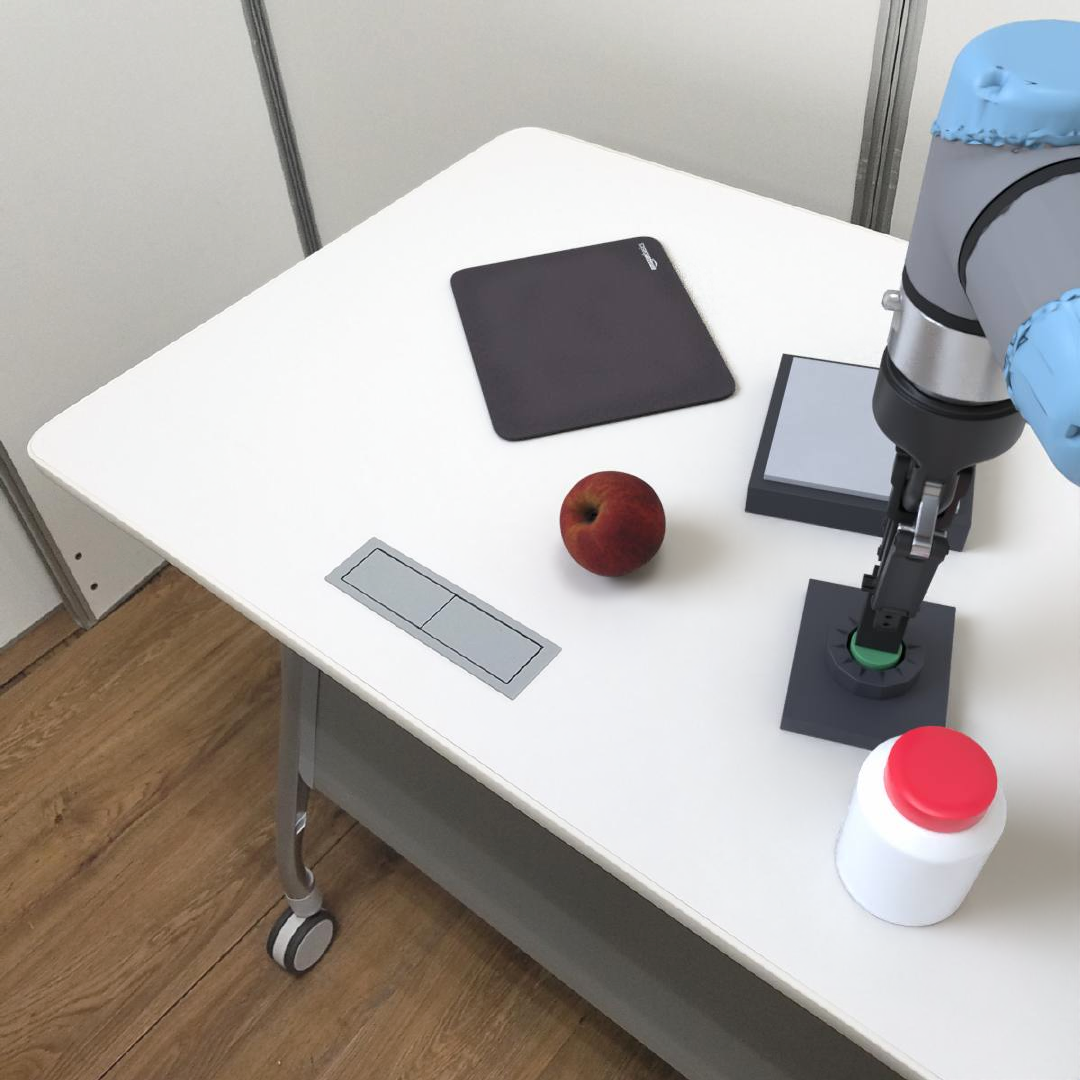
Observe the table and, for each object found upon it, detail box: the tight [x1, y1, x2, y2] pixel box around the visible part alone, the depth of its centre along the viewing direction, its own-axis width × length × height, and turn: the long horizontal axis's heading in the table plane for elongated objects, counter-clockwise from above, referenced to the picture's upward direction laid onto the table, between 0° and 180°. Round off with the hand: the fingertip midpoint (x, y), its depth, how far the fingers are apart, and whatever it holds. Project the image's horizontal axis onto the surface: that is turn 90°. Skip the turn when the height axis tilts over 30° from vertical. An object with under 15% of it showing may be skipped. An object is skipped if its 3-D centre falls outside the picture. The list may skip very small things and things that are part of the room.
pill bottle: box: [834, 726, 1008, 928], centre depth 61 cm, size 8×8×11 cm
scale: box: [744, 353, 977, 553], centre depth 86 cm, size 16×16×3 cm
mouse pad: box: [449, 235, 736, 441], centre depth 99 cm, size 25×21×1 cm
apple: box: [559, 470, 667, 577], centre depth 79 cm, size 7×8×8 cm
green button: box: [849, 631, 902, 671], centre depth 72 cm, size 3×3×2 cm
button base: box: [779, 578, 957, 751], centre depth 73 cm, size 12×10×3 cm
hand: (877, 640), depth 71 cm, fingers closed
